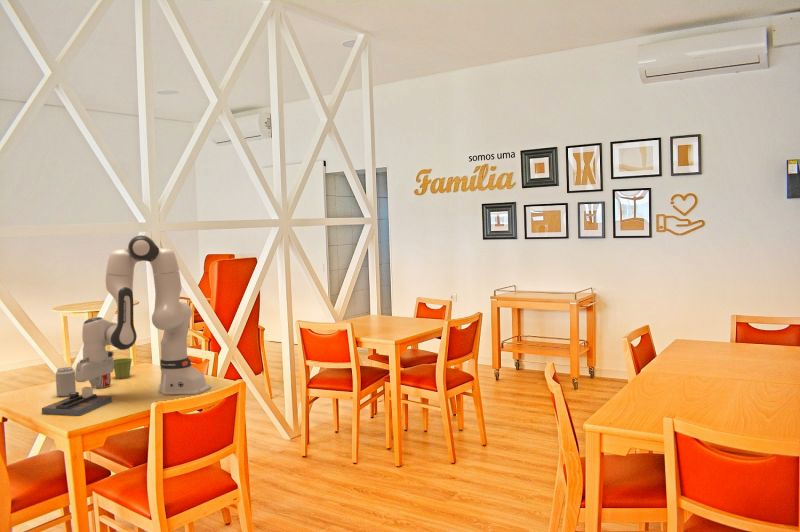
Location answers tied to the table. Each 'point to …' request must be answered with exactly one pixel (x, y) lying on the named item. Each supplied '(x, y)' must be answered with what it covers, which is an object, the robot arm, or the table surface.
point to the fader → (87, 392)
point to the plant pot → (122, 367)
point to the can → (65, 381)
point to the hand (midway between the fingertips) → (95, 387)
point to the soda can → (105, 381)
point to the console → (76, 404)
